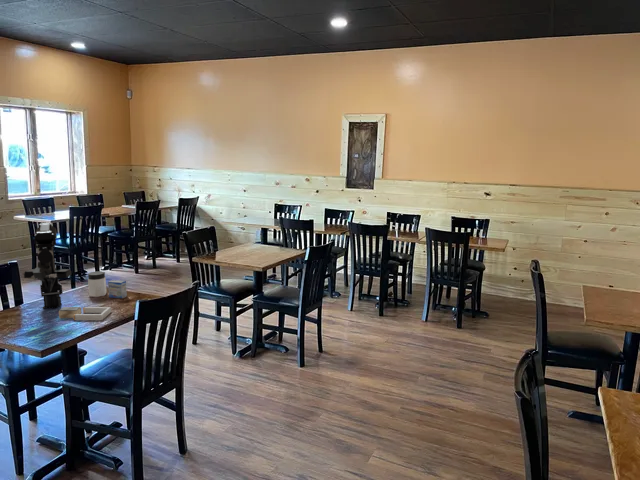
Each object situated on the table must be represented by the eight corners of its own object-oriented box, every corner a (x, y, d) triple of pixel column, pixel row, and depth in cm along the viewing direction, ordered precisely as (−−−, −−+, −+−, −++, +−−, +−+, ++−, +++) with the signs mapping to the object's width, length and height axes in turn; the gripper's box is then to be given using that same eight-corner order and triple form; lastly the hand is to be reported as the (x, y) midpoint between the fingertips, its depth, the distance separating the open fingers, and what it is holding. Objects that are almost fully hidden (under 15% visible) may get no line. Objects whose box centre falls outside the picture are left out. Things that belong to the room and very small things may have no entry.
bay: (73, 320, 213) (73, 315, 213) (84, 312, 224) (84, 307, 224) (101, 320, 214) (101, 314, 214) (111, 312, 225) (110, 307, 224)
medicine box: (108, 297, 247) (107, 281, 245) (113, 295, 251) (112, 279, 250) (122, 298, 246) (121, 282, 244) (127, 296, 250) (126, 280, 249)
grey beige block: (59, 318, 216) (58, 310, 215) (63, 315, 220) (62, 307, 220) (77, 318, 217) (76, 310, 216) (81, 314, 221) (80, 306, 221)
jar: (91, 298, 246) (90, 276, 244) (86, 294, 252) (84, 273, 249) (109, 294, 252) (107, 273, 250) (103, 291, 258) (102, 270, 255)
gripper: (15, 262, 204) (18, 296, 207) (59, 262, 206) (61, 296, 208) (29, 257, 215) (32, 289, 218) (70, 257, 217) (73, 289, 219)
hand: (49, 291), depth 216 cm, fingers closed
